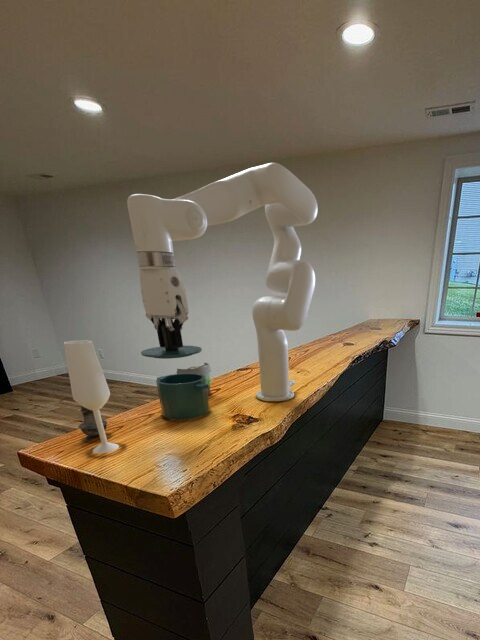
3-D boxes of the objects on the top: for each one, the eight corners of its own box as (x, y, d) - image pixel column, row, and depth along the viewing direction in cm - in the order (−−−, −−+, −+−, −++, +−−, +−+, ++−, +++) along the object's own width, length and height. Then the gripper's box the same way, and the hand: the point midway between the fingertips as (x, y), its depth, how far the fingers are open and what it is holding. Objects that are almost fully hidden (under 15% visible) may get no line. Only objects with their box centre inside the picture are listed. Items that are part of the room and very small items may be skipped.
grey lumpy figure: (81, 444, 81) (66, 395, 76) (83, 435, 86) (70, 388, 81) (110, 440, 84) (97, 392, 79) (111, 431, 88) (99, 385, 84)
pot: (182, 403, 110) (177, 370, 106) (225, 412, 102) (221, 377, 98) (147, 414, 100) (140, 379, 96) (191, 426, 92) (185, 388, 88)
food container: (193, 402, 111) (188, 371, 107) (180, 399, 114) (175, 368, 110) (221, 392, 121) (218, 364, 117) (209, 390, 124) (205, 362, 120)
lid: (176, 348, 93) (171, 322, 90) (213, 352, 87) (210, 325, 85) (129, 356, 82) (122, 327, 79) (168, 362, 76) (163, 331, 74)
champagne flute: (122, 442, 83) (97, 338, 73) (124, 452, 77) (98, 342, 68) (88, 448, 79) (58, 340, 70) (89, 459, 74) (56, 345, 65)
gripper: (196, 262, 76) (208, 347, 83) (147, 264, 83) (161, 342, 91) (168, 260, 70) (183, 352, 77) (117, 262, 77) (135, 346, 84)
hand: (171, 346), depth 84 cm, fingers closed on lid, 3 cm apart
